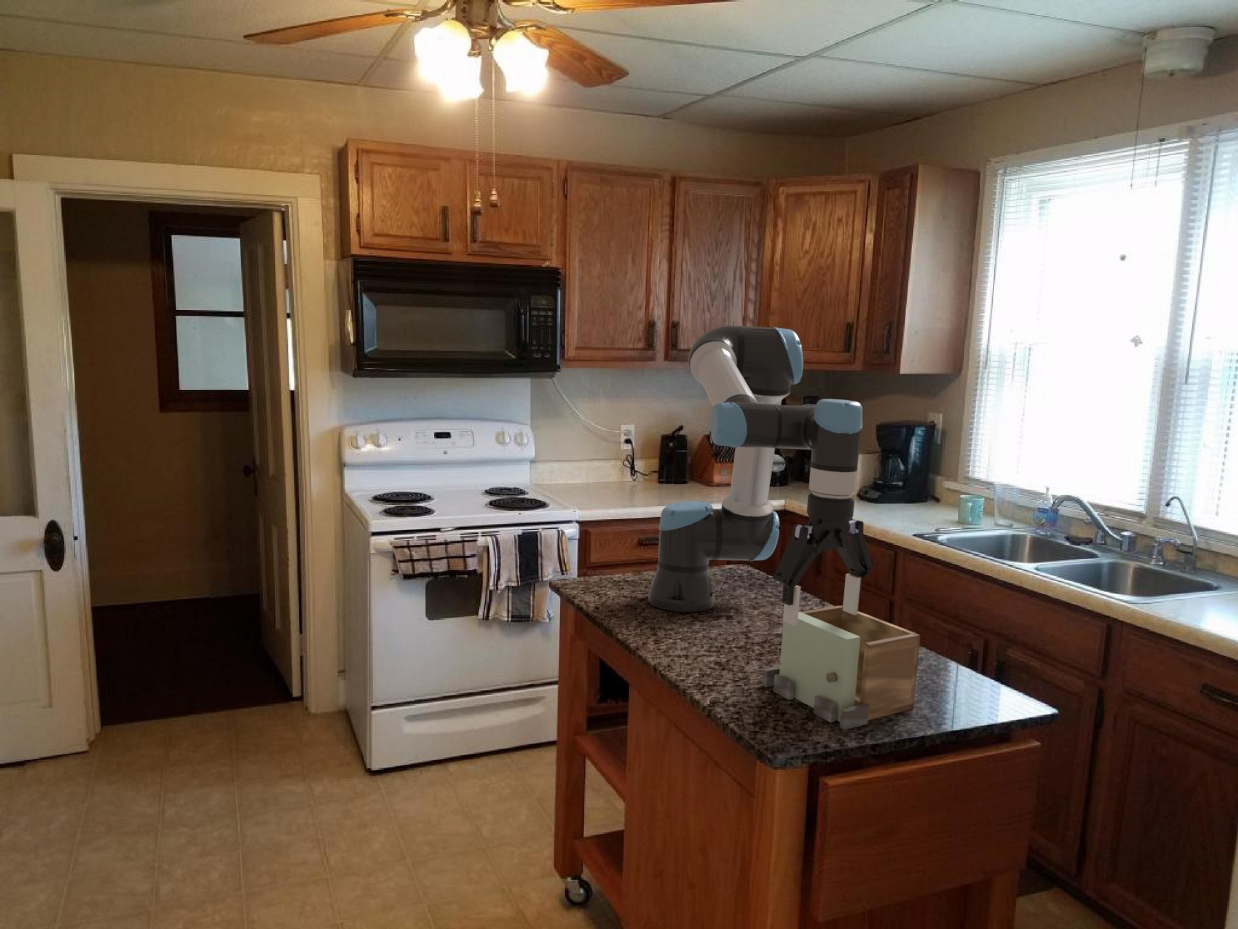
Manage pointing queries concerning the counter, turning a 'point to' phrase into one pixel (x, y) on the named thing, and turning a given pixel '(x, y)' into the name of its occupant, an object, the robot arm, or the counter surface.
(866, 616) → the carcass
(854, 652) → the door
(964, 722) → the counter surface
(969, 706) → the counter surface
